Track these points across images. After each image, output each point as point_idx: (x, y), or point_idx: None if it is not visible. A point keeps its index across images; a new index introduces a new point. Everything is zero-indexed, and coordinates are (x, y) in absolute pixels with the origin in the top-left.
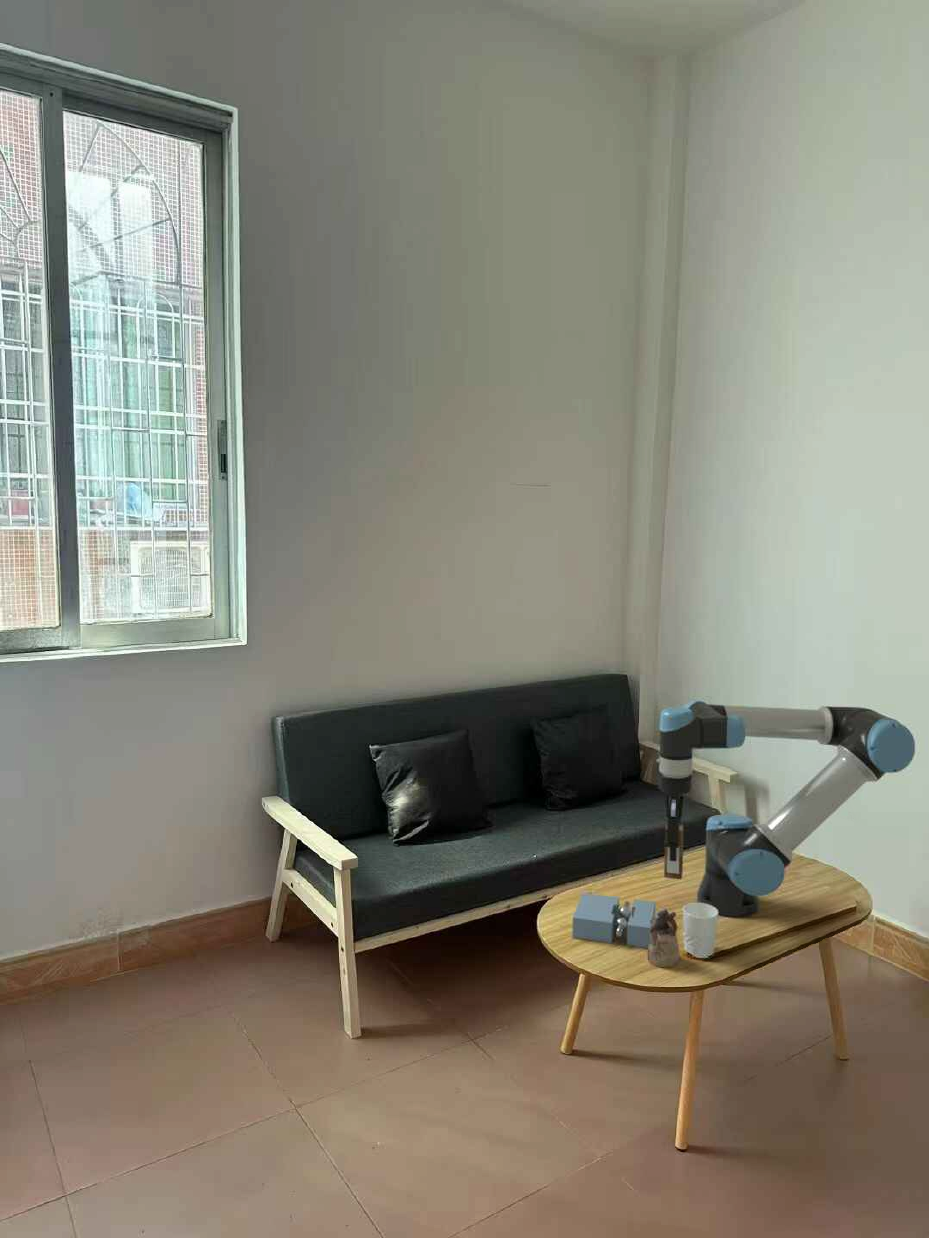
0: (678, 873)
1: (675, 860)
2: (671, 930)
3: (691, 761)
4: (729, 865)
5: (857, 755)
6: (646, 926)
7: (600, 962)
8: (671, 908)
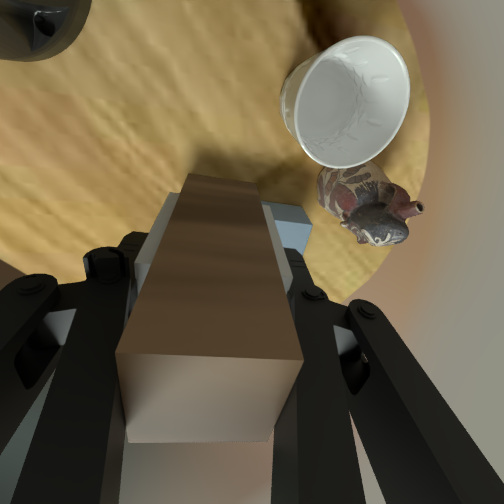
0: (269, 206)
1: (296, 252)
2: (386, 194)
3: None
4: None
5: None
6: (305, 231)
7: (345, 277)
8: (103, 146)
